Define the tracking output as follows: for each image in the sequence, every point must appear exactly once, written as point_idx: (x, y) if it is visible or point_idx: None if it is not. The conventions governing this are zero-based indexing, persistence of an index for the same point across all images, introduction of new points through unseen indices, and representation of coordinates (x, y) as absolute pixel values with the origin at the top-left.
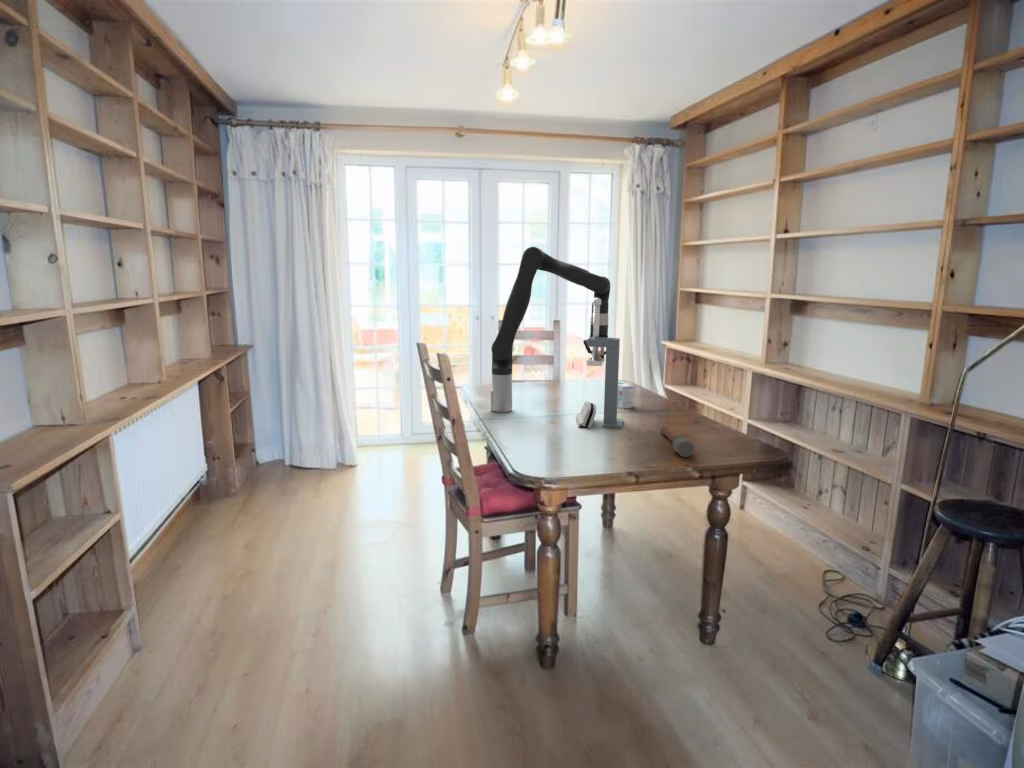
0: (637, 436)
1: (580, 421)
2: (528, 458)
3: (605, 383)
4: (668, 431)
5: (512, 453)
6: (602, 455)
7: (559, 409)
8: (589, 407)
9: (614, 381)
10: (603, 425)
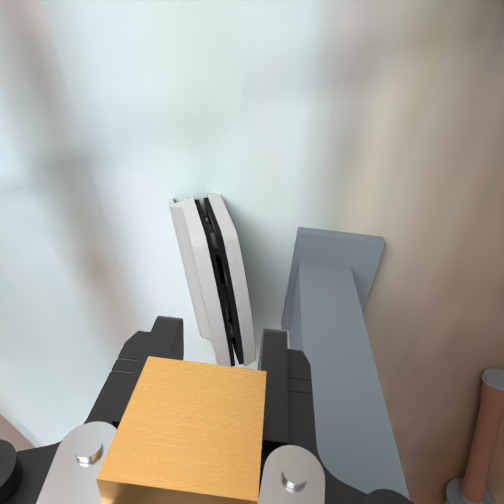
0: (389, 392)
1: (200, 317)
2: None
3: None
4: (493, 426)
5: None
6: None
7: (43, 17)
8: (224, 362)
9: None
10: (288, 328)
